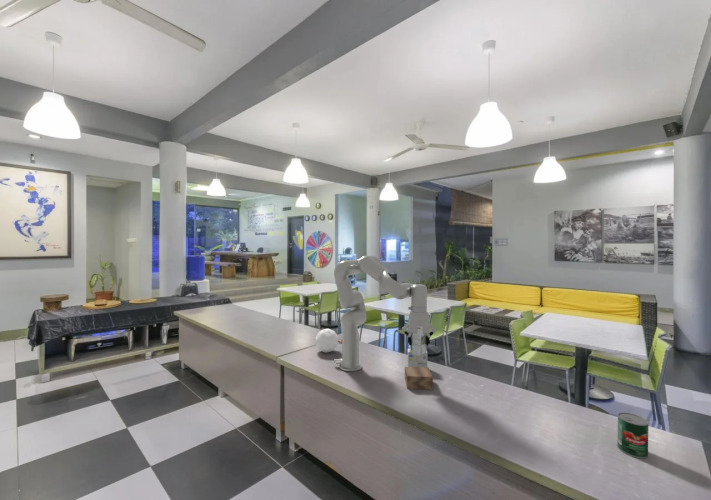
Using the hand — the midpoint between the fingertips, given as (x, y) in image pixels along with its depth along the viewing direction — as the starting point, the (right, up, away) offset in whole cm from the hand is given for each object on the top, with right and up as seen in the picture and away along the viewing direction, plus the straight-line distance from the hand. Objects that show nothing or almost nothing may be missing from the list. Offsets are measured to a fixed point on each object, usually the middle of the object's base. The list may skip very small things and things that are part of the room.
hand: (418, 344), depth 159 cm
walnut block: (0, -19, 0) cm, 19 cm away
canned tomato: (+62, -21, -51) cm, 83 cm away
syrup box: (0, -5, 0) cm, 5 cm away
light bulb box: (+3, -20, +19) cm, 27 cm away
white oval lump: (-48, -19, +47) cm, 69 cm away
